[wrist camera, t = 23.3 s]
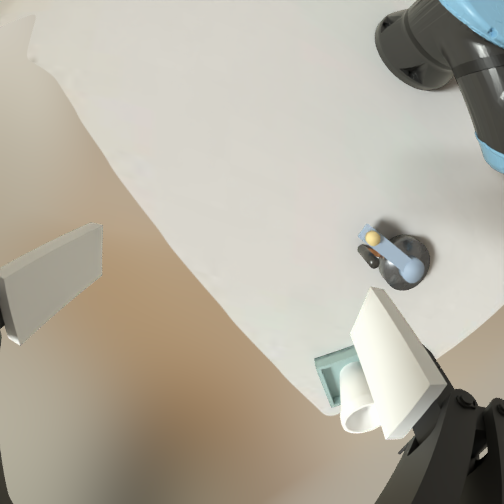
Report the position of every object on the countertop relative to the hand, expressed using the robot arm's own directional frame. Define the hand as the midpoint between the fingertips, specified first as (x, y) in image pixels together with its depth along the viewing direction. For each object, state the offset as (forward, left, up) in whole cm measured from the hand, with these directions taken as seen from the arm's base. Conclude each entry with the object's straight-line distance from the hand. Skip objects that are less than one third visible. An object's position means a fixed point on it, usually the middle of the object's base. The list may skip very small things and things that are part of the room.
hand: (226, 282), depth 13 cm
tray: (-5, +40, -32) cm, 51 cm away
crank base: (-18, +19, -32) cm, 41 cm away
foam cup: (-5, +40, -31) cm, 51 cm away
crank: (-16, +15, -28) cm, 36 cm away
